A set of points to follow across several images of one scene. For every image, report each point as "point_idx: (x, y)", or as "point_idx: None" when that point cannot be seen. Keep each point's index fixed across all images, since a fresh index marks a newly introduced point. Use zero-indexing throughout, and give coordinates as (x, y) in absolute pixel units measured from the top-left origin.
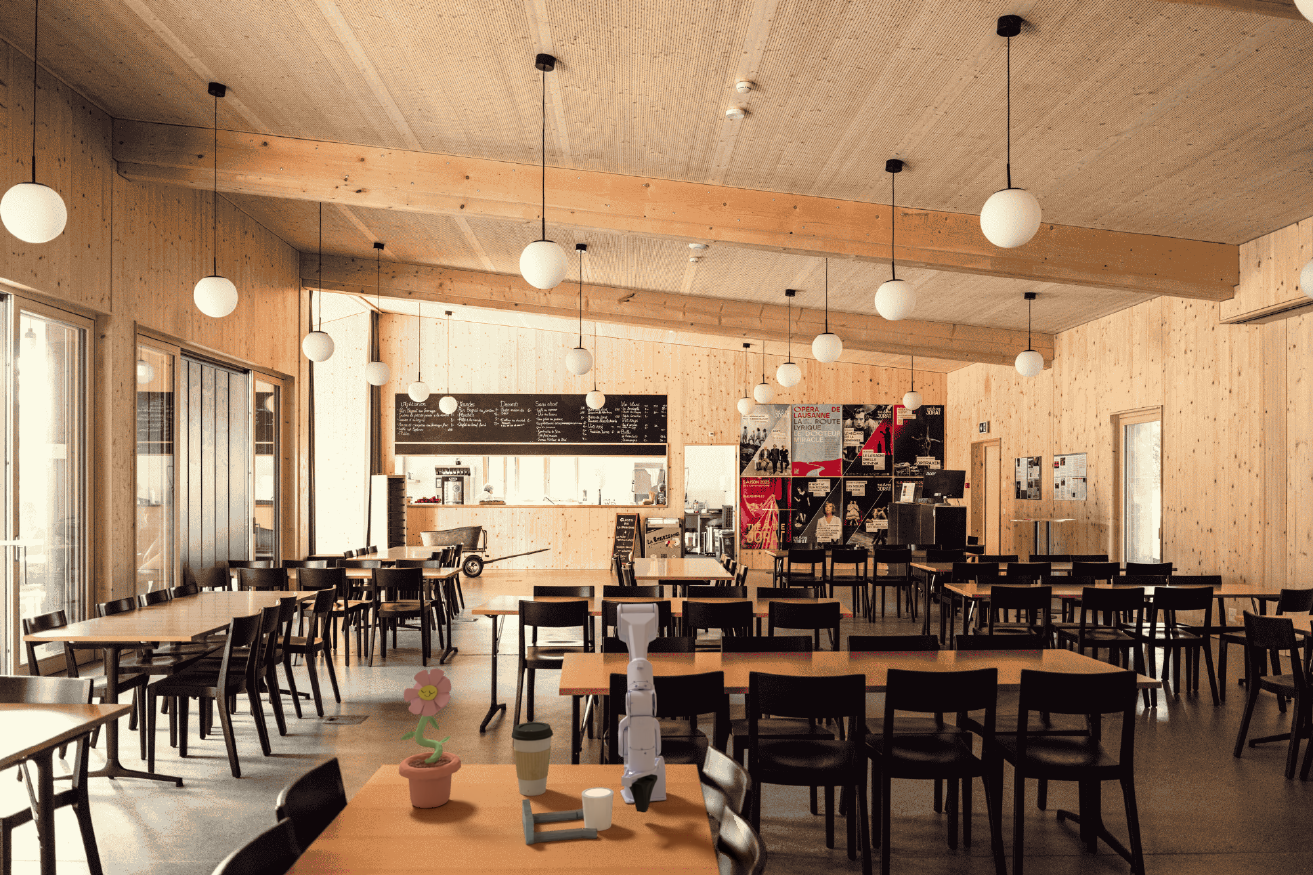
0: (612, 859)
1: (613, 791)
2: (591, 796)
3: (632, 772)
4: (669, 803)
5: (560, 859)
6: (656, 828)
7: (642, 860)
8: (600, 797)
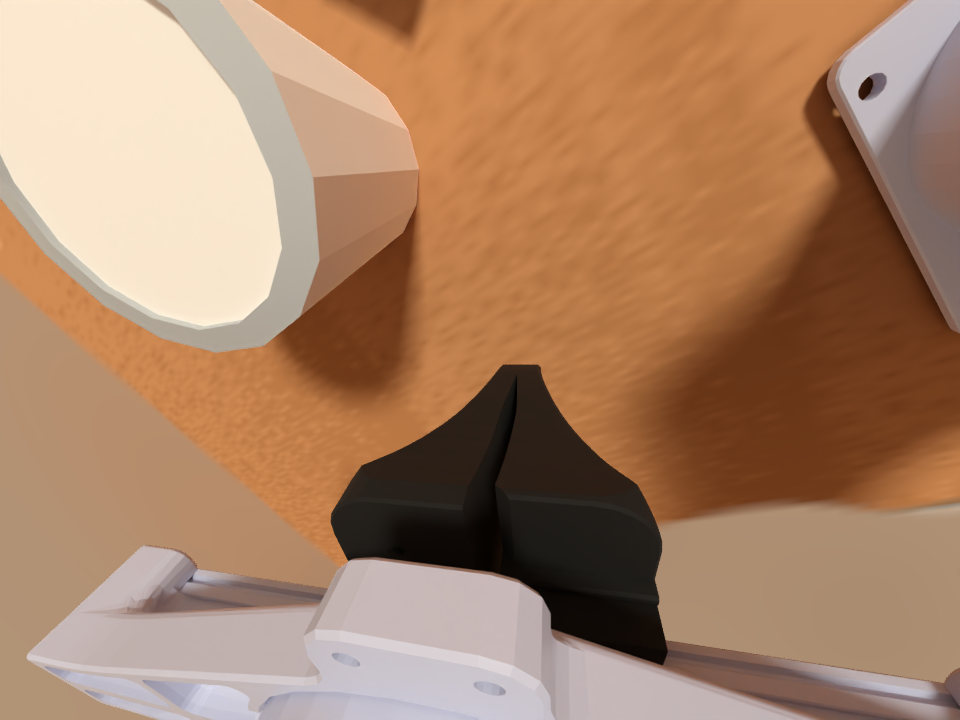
0: (195, 416)
1: (293, 320)
2: (22, 208)
3: (221, 717)
4: (880, 367)
5: (28, 266)
6: None
7: (263, 482)
8: (106, 302)
